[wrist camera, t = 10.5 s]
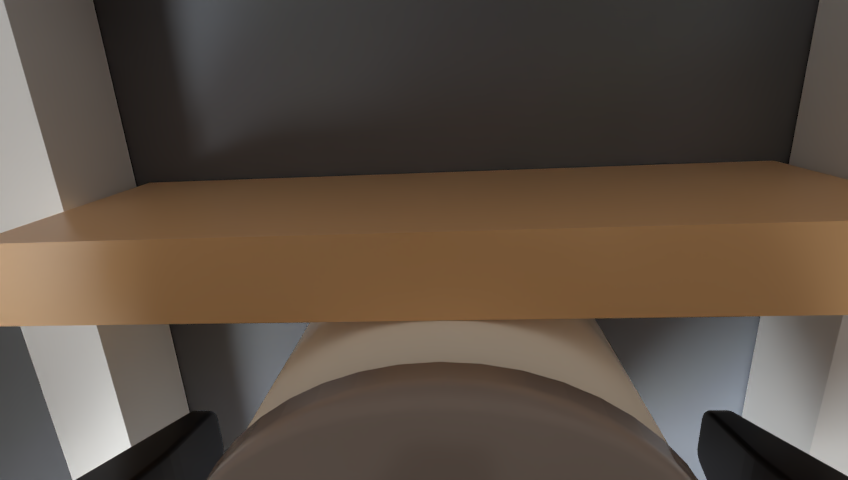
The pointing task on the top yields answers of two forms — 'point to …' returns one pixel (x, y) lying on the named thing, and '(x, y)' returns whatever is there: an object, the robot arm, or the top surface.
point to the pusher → (441, 248)
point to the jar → (452, 407)
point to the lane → (152, 343)
